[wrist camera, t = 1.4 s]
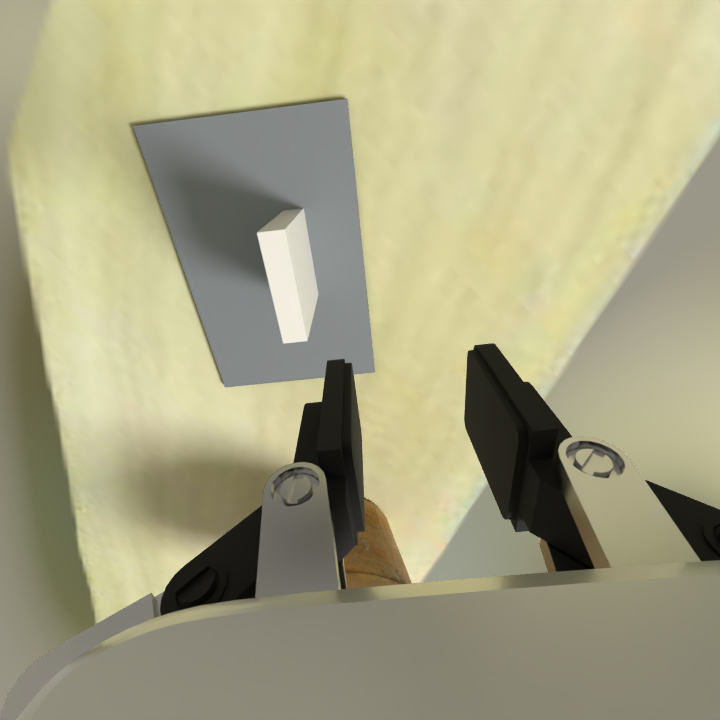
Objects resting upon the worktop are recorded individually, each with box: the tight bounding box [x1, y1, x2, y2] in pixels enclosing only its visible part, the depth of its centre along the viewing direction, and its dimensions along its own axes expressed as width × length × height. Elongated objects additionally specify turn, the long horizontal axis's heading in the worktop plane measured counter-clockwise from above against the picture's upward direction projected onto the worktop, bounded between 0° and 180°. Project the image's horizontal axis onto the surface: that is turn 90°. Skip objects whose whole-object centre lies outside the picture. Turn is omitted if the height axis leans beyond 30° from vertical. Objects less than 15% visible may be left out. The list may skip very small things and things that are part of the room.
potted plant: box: [343, 499, 412, 589], centre depth 36 cm, size 18×19×25 cm
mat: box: [133, 99, 375, 387], centre depth 30 cm, size 22×15×1 cm
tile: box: [257, 208, 318, 344], centre depth 26 cm, size 7×2×9 cm, turn 6°
